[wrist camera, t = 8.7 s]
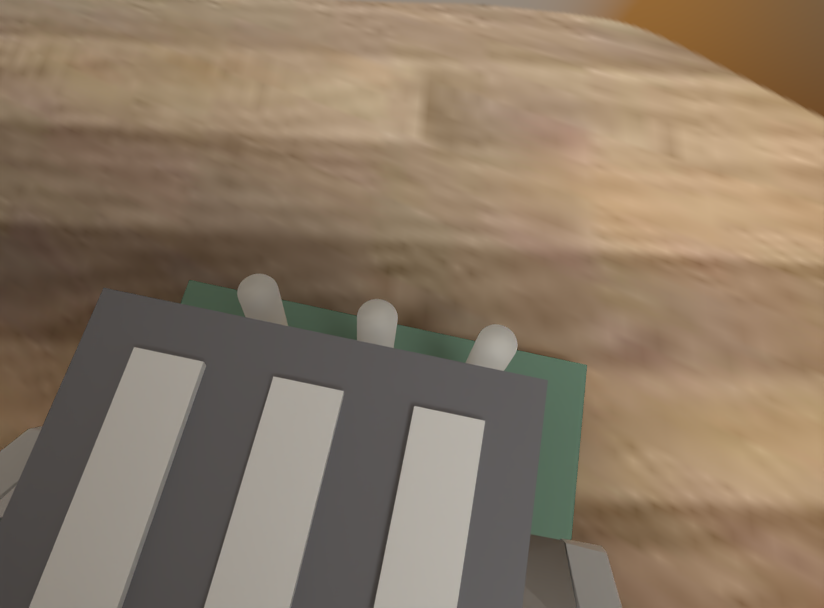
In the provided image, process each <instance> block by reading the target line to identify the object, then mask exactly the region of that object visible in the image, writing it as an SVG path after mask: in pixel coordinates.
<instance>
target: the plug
mask: <svg viewBox="0 0 824 608" xmlns="http://www.w3.org/2000/svg"><path fill="white" fill-rule="evenodd" d="M547 385H548V380H545V379H540V378H535V377H530V376H525V375H521V374H516V373H511V372H506V371H501V370H497V369H492V368H487V367H482V366H477V365H473V364H468V363H463V362H458V361H453V360H449V359H444V358H439V357H434V356H429V355H425V354H420V353H415V352H410V351H405V350H401V349H396V348H391V347H386V346H381V345H377V344H372V343H367V342H362V341H357V340H353V339H348V338H343V337H338V336H333V335H329V334H324V333H319V332H314V331H309V330H305V329H300V328H295V327H290V326H285V325H281V324H276V323H271V322H266V321H261V320H256V319H252V318H247V317H242V316H237V315H232V314H228V313H223V312H218V311H213V310H208V309H204V308H199V307H194V306H189V305H184V304H180V303H175V302H170V301H165V300H160V299H156V298H151V297H146V296H141V295H136V294H132V293H127V292H122V291H117V290H112V289H108V288H103V291H102V293H101V295H100V297H99V300H98V302H97V304H96V306H95V309H94V311H93V313H92V315H91V318H90V320H89V322H88V324H87V327H86V329H85V331H84V334H83V336H82V338H81V340H80V343H79V345H78V347H77V349H76V352H75V354H74V356H73V358H72V361H71V363H70V365H69V367H68V370H67V372H66V374H65V377H64V379H63V381H62V383H61V386H60V388H59V390H58V392H57V395H56V397H55V399H54V401H53V404H52V406H51V408H50V410H49V413H48V415H47V417H46V419H45V422H44V424H43V426H42V429H41V431H40V433H39V435H38V438H37V440H36V442H35V444H34V447H33V449H32V451H31V453H30V456H29V458H28V460H27V462H26V465H25V467H24V469H23V471H22V474H21V476H20V478H19V481H18V483H17V485H16V487H15V490H14V492H13V494H12V496H11V499H10V501H9V503H8V505H7V508H6V510H5V512H4V514H3V517H2V519H1V521H0V608H522V605H523V596H524V587H525V578H526V569H527V561H528V552H529V543H530V534H531V526H532V517H533V508H534V499H535V490H536V482H537V473H538V464H539V455H540V446H541V438H542V429H543V420H544V411H545V402H546V394H547Z"/></svg>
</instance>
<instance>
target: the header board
mask: <svg viewBox="0 0 824 608" xmlns="http://www.w3.org/2000/svg"><path fill="white" fill-rule="evenodd" d="M180 304H184V305H189V306H194V307H199V308H204V309H208V310H213V311H218V312H223V313H228V314H232V315H237V316H242V317H247V318H252V319H256V320H261V321H266V322H271V323H276V324H281V325H285V326H290V327H295V328H300V329H305V330H309V331H314V332H319V333H324V334H329V335H333V336H338V337H343V338H348V339H353V340H357V341H362V342H367V343H372V344H377V345H381V346H386V347H391V348H396V349H401V350H405V351H410V352H415V353H420V354H425V355H429V356H434V357H439V358H444V359H449V360H453V361H458V362H463V363H468V364H473V365H477V366H482V367H487V368H492V369H497V370H501V371H506V372H511V373H516V374H521V375H525V376H530V377H535V378H540V379H545V380H548V385H547V394H546V402H545V411H544V420H543V429H542V438H541V446H540V455H539V464H538V473H537V482H536V490H535V499H534V508H533V517H532V526H531V534H536V535H540V536H545V537H550V538H555V539H559V540H560V539H561V538H562V539H567V540H571V537H572V526H573V515H574V504H575V493H576V482H577V471H578V460H579V449H580V438H581V427H582V415H583V404H584V393H585V382H586V371H587V365H584V364H579V363H575V362H570V361H565V360H561V359H556V358H551V357H547V356H542V355H537V354H533V353H528V352H524V351H519V350H517V346H518V344H517V339H516V337H515V335H514V333H513V332H512V331H511V330H510V329H509V328H507V327H505V326H503V325H498V324H493V325H489V326H487V327H485V328H483V329H482V330H481V332H480V333H479V335H478V337H477V339H476V341H472V340H468V339H463V338H458V337H454V336H449V335H444V334H440V333H435V332H430V331H426V330H421V329H416V328H412V327H407V326H402V325H398V324H397V321H398V315H397V311H396V309H395V308H394V306H393V305H392V304H391V303H389V302H387V301H385V300H382V299H372V300H369V301H367V302H365V303H364V304H363V305H362V306H361V307H360V309H359V311H358V313H357V316H356V315H351V314H346V313H342V312H337V311H332V310H328V309H323V308H318V307H314V306H309V305H304V304H300V303H295V302H290V301H286V300H281V296H280V292H279V288H278V285H277V283H276V281H275V280H274V279H273V278H271V277H270V276H268V275H265V274H253V275H250V276H248V277H246V278H245V279H244V280H243V281H242V282H241V283H240V285H239V287H238V290H234V289H230V288H225V287H220V286H216V285H211V284H206V283H202V282H197V281H192V280H189V282H188V285H187V288H186V290H185V293H184V295H183V298H182V301H181V303H180Z"/></svg>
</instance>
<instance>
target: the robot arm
mask: <svg viewBox="0 0 824 608" xmlns="http://www.w3.org/2000/svg"><path fill="white" fill-rule="evenodd" d="M41 429H42V427H41V426H40V427H35V428H30V429H28V430H26V431H25V432H24V433H22V434H21V435H20V436H19V437H17V438H16V439H15V440H14V441H12V442H11V443H10V444H9V445H7V446H6V447H5V448H4V449H2V450H1V451H0V521H1V519H2V517H3V514H4V512H5V510H6V508H7V505H8V503H9V501H10V499H11V496H12V494H13V492H14V490H15V487H16V485H17V483H18V481H19V478H20V476H21V474H22V471H23V469H24V467H25V465H26V462H27V460H28V458H29V456H30V453H31V451H32V449H33V447H34V444H35V442H36V440H37V438H38V435H39V433H40V431H41ZM522 608H622V605H621V601H620V598H619V594H618V591H617V587H616V583H615V580H614V576H613V573H612V569H611V566H610V562H609V559H608V555H607V552H606V551H605V550H604V548H603V547H602V546H600V545H594V544H589V543H584V542H578V541H573V540H567V539H562V538H561V539H560V540H559V539H555V538H550V537H545V536H540V535H536V534H530V543H529V552H528V561H527V569H526V578H525V587H524V596H523V605H522Z"/></svg>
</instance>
